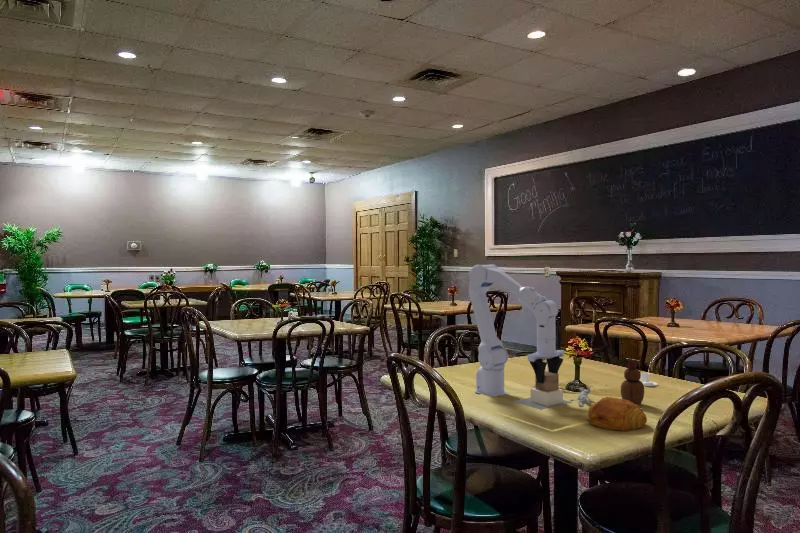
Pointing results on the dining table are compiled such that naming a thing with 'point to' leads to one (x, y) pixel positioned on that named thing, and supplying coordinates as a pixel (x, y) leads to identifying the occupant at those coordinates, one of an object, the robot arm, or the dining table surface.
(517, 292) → the robot arm
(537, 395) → the cream block
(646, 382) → the teacup and saucer
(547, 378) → the walnut cube
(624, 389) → the wooden figurine
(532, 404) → the slate board
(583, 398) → the soldier figure
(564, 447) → the dining table surface
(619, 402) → the croissant
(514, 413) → the dining table surface
